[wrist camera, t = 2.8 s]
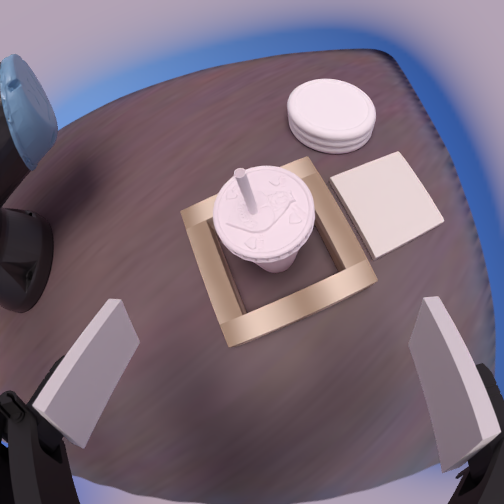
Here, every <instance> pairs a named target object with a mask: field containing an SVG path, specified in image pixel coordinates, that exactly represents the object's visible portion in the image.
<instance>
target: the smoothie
mask: <svg viewBox="0 0 504 504" xmlns="http://www.w3.org/2000/svg"><path fill="white" fill-rule="evenodd" d="M234 175H235V176H233V177H232V178H231V179H230V180H228V181H227V182H226V183H225V185H224V186H223V187H222V188H221V190H220V192H219V193H218V195H217V197H216V200H215V203H214V207H213V222H214V226H215V229H216V232H217V234H218V235H219V237H220V239H221V240H222V242H223V244H224V245H225V246H226V247H227V248H228V249H229V250H230V251H231V252H232V253H233V254H235V255H237V256H238V257H240V258H242V259H244V260H247V261H252V262H254V263H256V264H257V265H258V266H260V267H261V268H263V269H264V270H266V271H268V272H271V273H279V272H283V271H285V270H287V269H288V268H289V267H290V266H291V265H292V264H293V262H294V260H295V257H296V255H297V253H298V250H299V249H300V248H301V247H302V246H303V245H304V244H305V243H306V241H307V239H308V238H309V236H310V234H311V232H312V230H313V226H314V221H315V209H314V201H313V197H312V194H311V192H310V190H309V188H308V187H307V185H306V184H305V183H304V181H303V180H302V179H301V178H299V177H298V176H297V175H295V174H294V173H292V172H290V171H288V170H286V169H283V168H280V167H275V166H258V167H253V168H249V169H246V170H244V169H243V168H238V169H236V170H235V172H234Z"/></svg>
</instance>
